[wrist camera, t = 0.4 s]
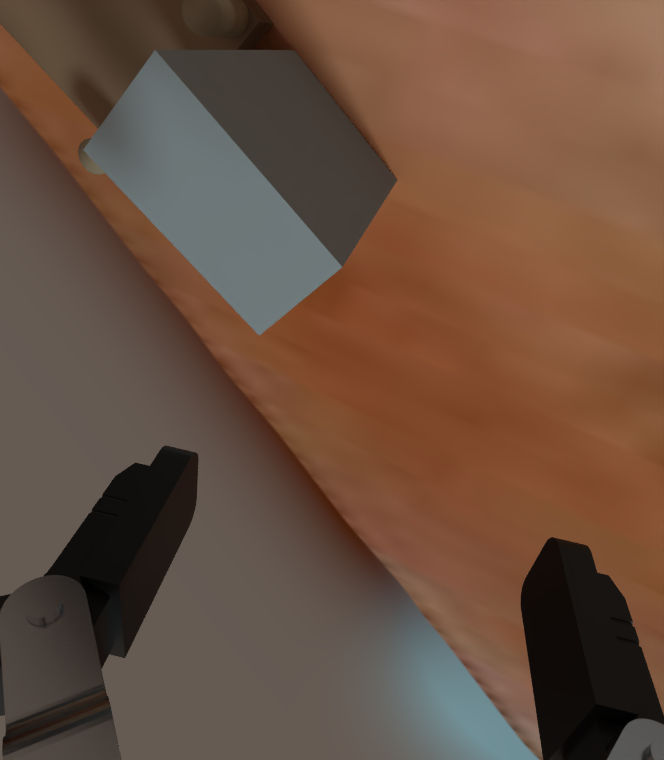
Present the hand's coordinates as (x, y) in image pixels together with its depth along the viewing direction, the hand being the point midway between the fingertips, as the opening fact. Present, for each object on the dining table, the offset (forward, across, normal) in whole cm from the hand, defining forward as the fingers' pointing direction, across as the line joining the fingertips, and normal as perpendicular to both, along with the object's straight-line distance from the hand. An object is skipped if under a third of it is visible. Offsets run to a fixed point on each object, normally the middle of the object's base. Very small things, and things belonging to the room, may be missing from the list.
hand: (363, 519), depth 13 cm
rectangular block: (+22, +5, -3) cm, 23 cm away
